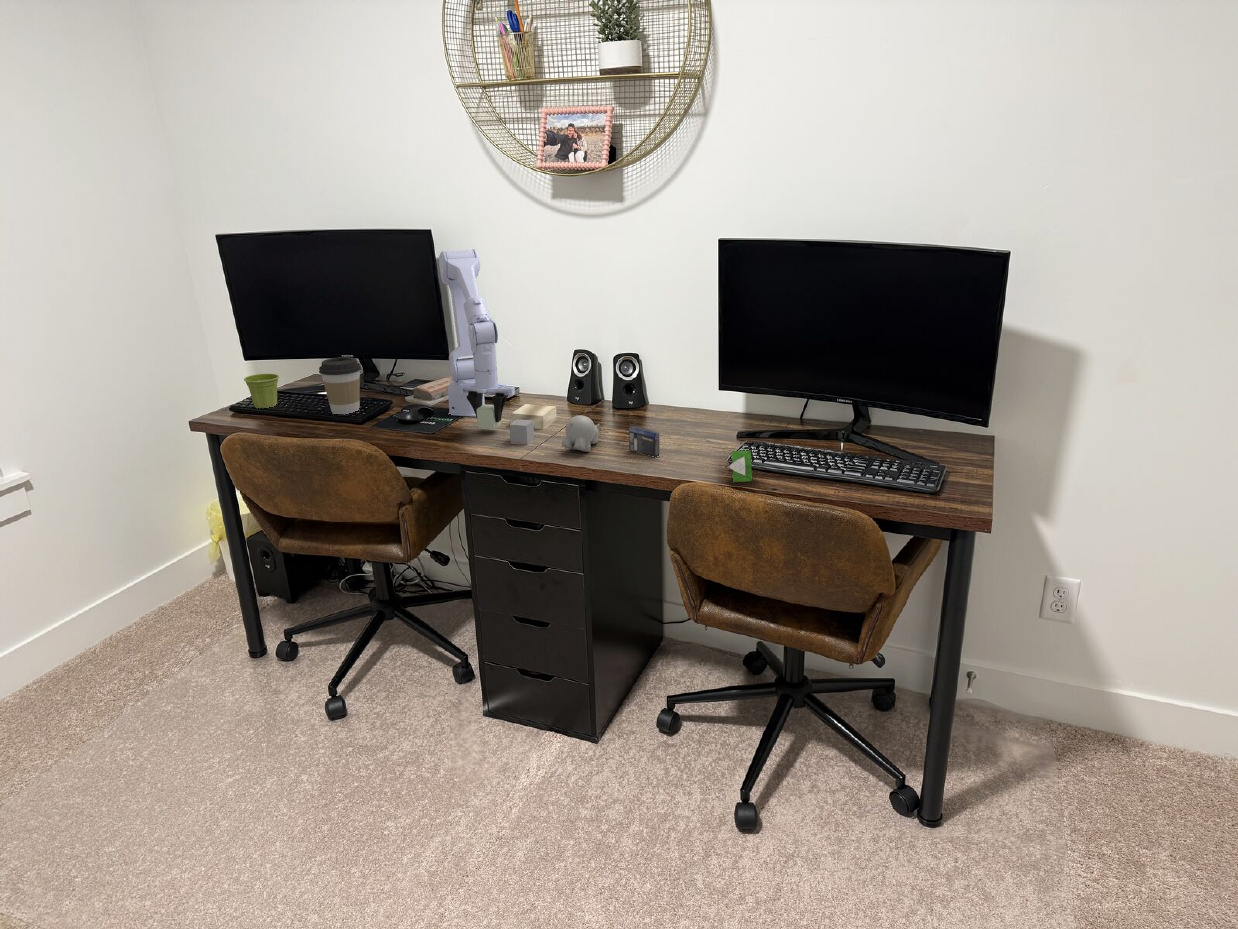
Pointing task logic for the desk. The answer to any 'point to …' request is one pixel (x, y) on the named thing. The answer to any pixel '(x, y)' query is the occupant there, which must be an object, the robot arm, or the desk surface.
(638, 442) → the mini dv tape
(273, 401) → the plant pot
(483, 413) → the sage cube
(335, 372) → the coffee cup
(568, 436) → the round bodied animal figurine
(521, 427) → the grey cube
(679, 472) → the desk surface
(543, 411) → the birch block
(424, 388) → the packaged product
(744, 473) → the geometric puzzle
